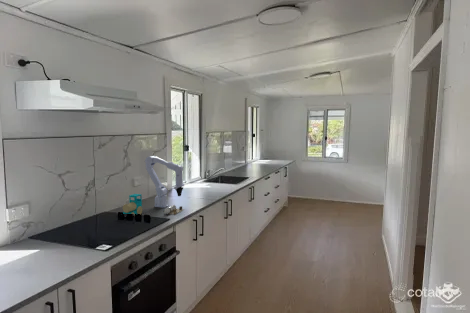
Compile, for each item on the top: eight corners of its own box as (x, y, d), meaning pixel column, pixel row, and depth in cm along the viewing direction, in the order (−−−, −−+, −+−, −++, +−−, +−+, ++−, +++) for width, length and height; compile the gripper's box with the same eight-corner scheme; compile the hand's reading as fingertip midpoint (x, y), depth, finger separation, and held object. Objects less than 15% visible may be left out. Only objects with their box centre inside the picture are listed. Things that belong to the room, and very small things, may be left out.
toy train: (119, 218, 225) (119, 198, 224) (134, 212, 241) (133, 193, 239) (128, 219, 223) (128, 199, 221) (142, 213, 238) (142, 194, 237)
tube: (165, 215, 232) (168, 212, 231) (162, 211, 232) (165, 208, 231) (173, 211, 245) (177, 207, 244) (170, 207, 246) (174, 204, 245)
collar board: (163, 213, 237) (163, 208, 237) (172, 208, 251) (172, 204, 250) (175, 214, 235) (175, 209, 234) (183, 209, 248) (183, 205, 248)
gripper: (179, 181, 246) (179, 198, 248) (187, 178, 260) (187, 194, 262) (171, 181, 249) (171, 197, 250) (179, 178, 262) (180, 194, 264)
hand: (179, 196), depth 256 cm, fingers closed
